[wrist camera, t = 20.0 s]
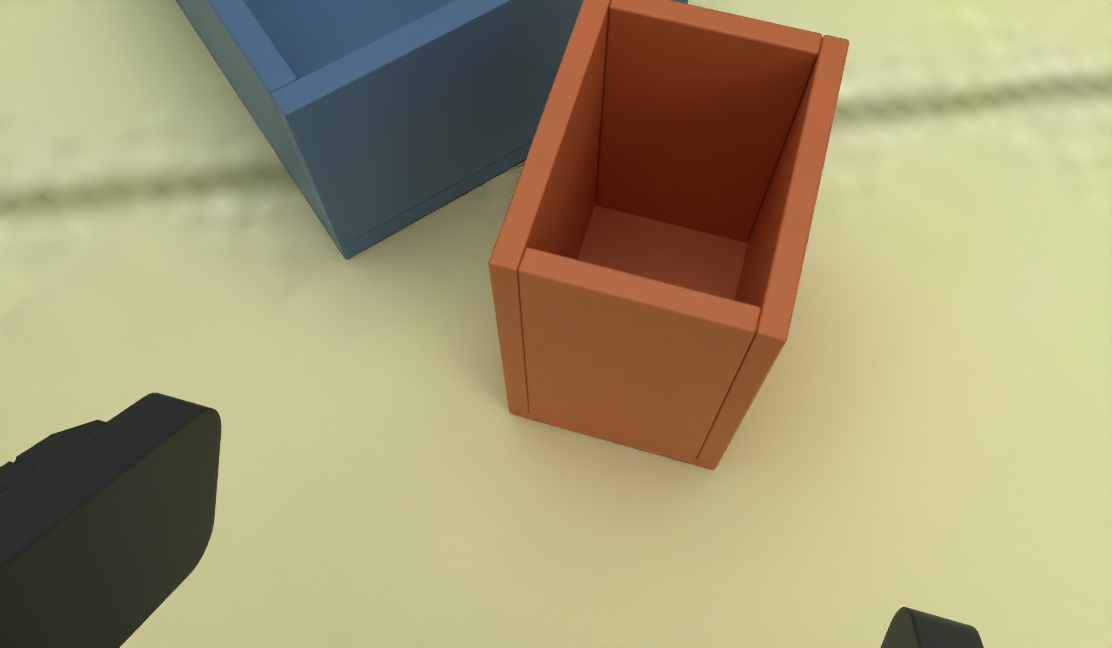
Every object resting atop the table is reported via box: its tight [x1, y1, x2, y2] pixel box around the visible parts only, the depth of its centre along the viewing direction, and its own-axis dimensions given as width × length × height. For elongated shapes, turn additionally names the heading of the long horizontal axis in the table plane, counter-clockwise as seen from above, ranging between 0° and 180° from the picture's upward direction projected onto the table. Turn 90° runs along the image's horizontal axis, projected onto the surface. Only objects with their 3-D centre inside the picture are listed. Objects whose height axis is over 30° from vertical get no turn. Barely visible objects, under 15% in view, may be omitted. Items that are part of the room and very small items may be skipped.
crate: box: [489, 0, 849, 470], centre depth 24 cm, size 8×6×9 cm
